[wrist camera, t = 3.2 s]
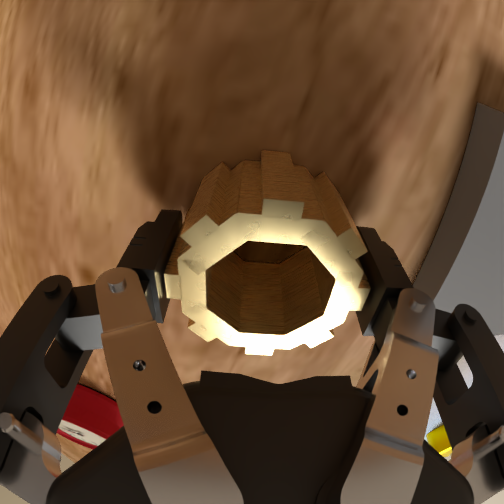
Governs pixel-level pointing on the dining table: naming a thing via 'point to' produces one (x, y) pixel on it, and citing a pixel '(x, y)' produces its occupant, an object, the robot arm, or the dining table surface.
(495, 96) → the dining table surface
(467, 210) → the gear board
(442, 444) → the element tile
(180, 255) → the brass gear
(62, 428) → the alarm clock
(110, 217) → the dining table surface
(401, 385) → the robot arm
